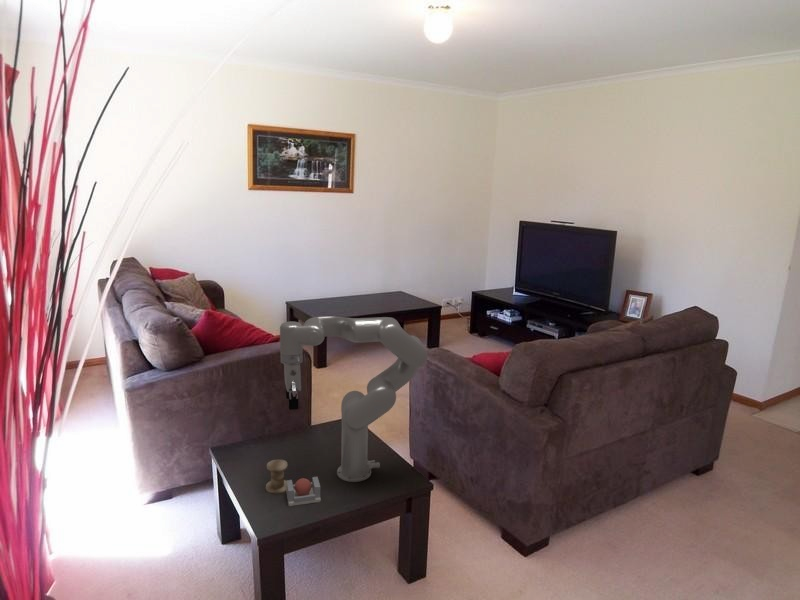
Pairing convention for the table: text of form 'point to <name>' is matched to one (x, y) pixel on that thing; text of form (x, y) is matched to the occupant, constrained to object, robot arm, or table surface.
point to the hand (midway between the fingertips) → (292, 403)
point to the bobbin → (276, 476)
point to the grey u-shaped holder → (303, 499)
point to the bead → (302, 486)
